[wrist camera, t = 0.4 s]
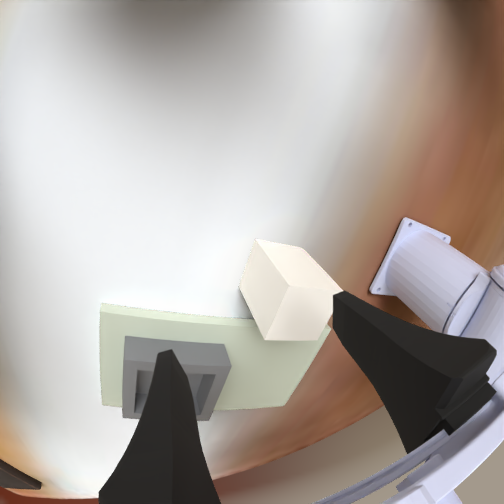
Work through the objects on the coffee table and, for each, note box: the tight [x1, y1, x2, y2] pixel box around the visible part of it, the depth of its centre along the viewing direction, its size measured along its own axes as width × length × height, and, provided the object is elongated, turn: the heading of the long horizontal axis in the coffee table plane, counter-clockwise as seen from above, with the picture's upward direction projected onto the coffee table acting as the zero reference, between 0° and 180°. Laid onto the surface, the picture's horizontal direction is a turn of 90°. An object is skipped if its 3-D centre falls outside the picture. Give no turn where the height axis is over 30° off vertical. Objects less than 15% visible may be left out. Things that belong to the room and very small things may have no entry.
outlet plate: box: [100, 303, 331, 421], centre depth 24 cm, size 20×12×4 cm, turn 72°
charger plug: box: [239, 239, 343, 341], centre depth 20 cm, size 4×4×6 cm
